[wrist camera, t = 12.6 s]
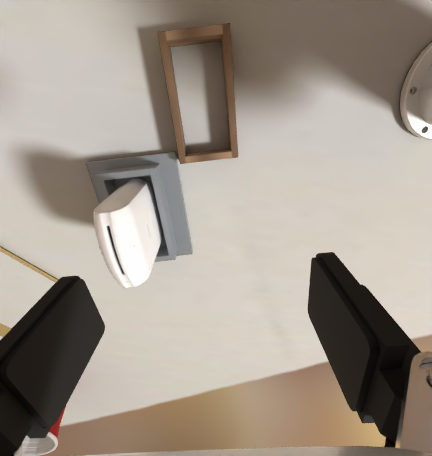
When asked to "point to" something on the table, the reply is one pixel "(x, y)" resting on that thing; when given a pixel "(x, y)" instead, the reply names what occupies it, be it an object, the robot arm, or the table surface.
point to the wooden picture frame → (167, 41)
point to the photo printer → (129, 232)
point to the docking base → (162, 190)
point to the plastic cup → (42, 442)
